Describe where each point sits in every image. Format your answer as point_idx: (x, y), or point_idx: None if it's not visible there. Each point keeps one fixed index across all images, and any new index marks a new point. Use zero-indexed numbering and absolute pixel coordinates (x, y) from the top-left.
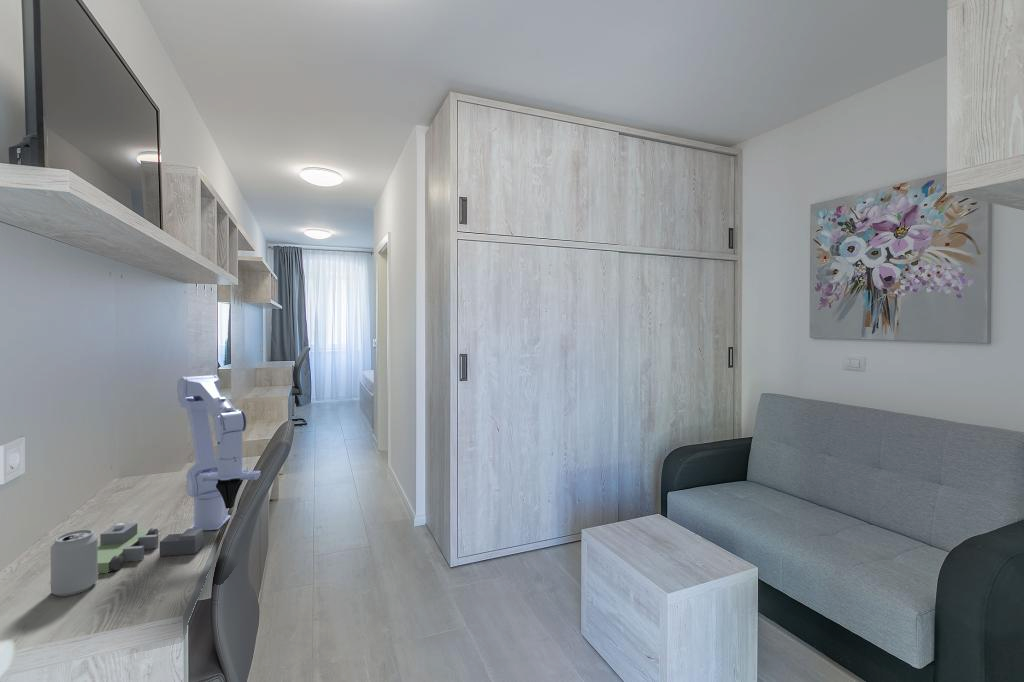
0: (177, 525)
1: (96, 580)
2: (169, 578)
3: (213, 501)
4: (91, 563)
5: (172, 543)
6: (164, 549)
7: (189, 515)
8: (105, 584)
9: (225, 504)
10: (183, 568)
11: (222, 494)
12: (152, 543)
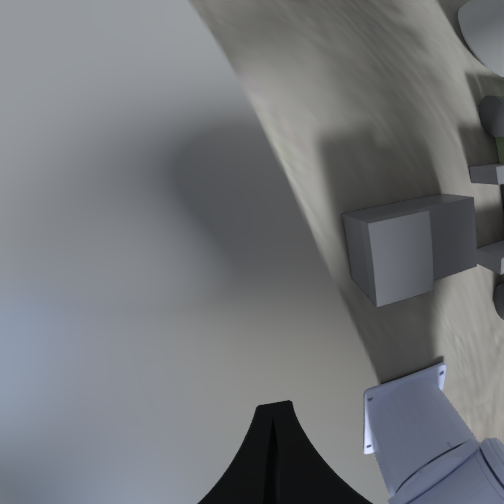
0: (473, 383)
1: (468, 40)
2: (304, 45)
3: (414, 458)
4: (490, 4)
5: (434, 202)
6: (444, 197)
7: None
8: (447, 42)
9: (290, 416)
10: (308, 105)
11: (315, 469)
12: (493, 250)
